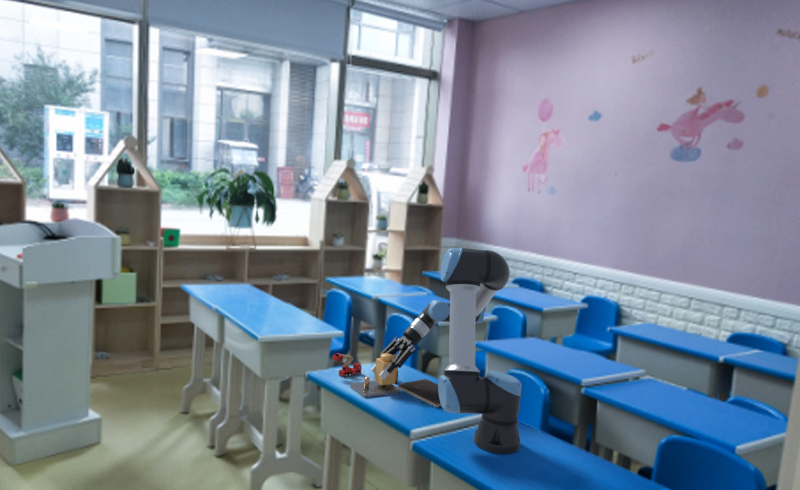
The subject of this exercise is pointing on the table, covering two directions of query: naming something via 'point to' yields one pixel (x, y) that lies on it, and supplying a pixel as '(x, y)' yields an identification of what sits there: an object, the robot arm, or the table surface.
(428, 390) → the hardcover book
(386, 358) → the wooden knobbed peg
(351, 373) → the toy fire truck
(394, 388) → the slate tray with handles
